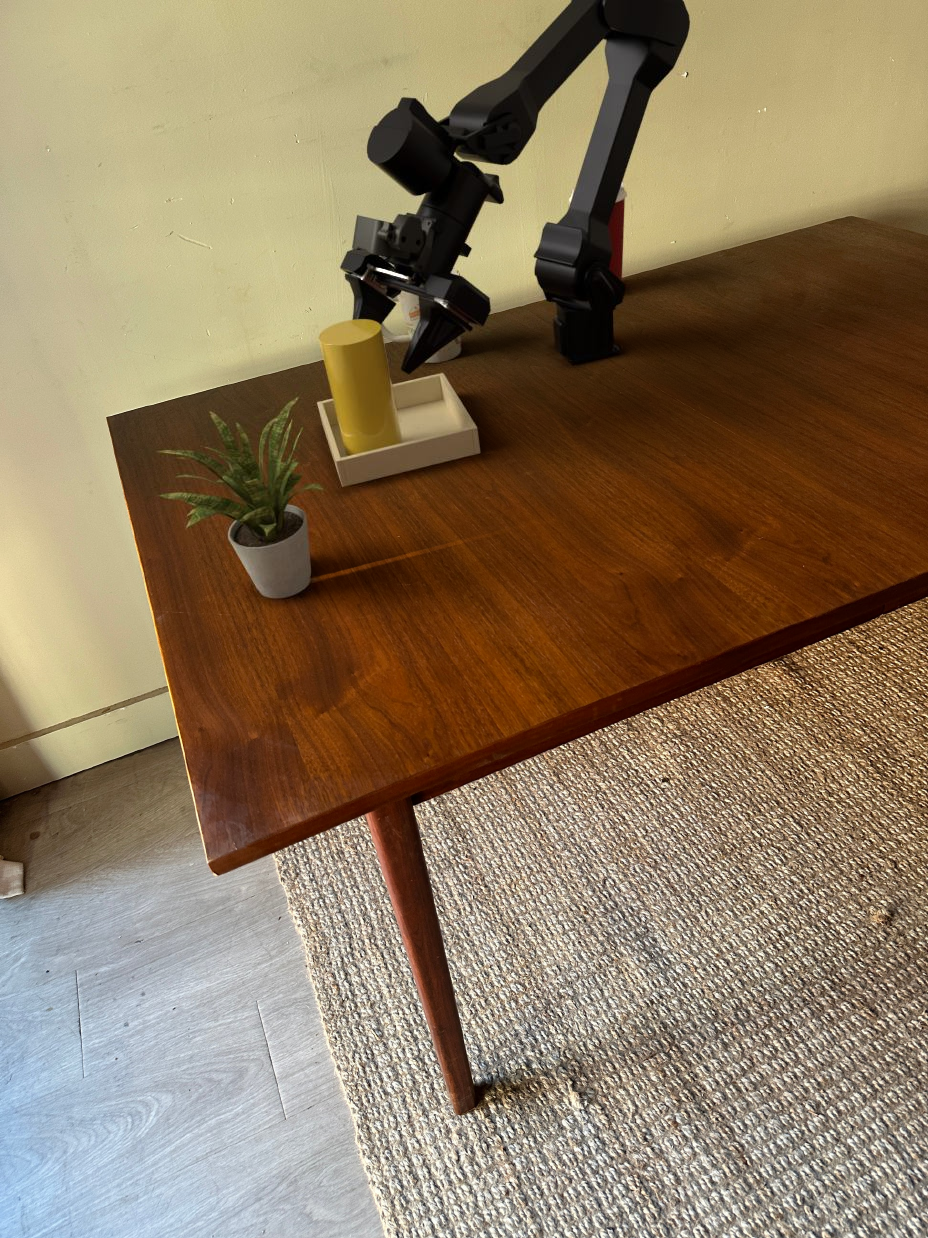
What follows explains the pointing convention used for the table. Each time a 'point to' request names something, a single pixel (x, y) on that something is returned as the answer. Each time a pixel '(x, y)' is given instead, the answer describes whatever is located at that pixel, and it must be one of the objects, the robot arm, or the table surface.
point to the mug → (412, 318)
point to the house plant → (258, 508)
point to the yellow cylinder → (361, 385)
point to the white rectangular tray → (409, 432)
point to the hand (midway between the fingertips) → (378, 361)
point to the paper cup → (616, 232)
